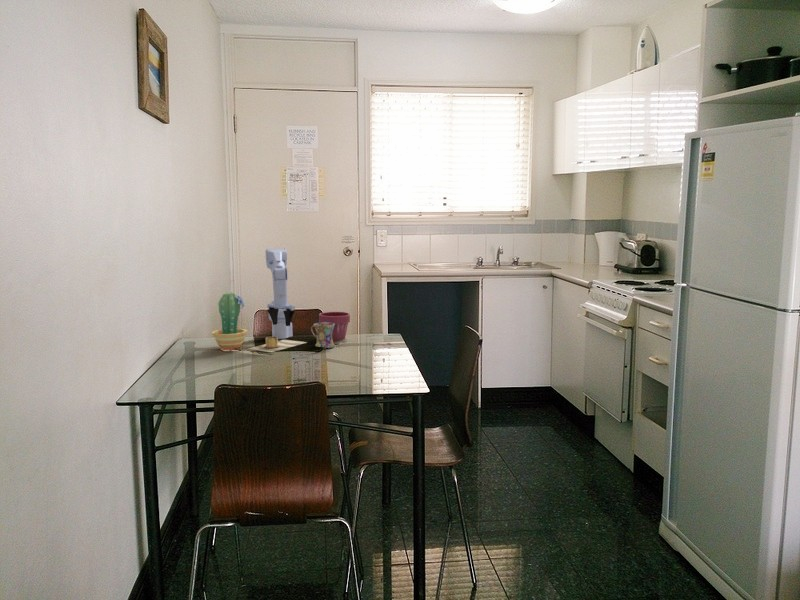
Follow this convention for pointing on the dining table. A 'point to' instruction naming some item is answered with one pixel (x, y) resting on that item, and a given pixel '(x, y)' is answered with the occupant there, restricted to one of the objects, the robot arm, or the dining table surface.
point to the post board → (281, 345)
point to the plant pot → (336, 323)
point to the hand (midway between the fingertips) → (281, 325)
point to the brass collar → (271, 342)
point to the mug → (324, 334)
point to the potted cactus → (230, 322)
